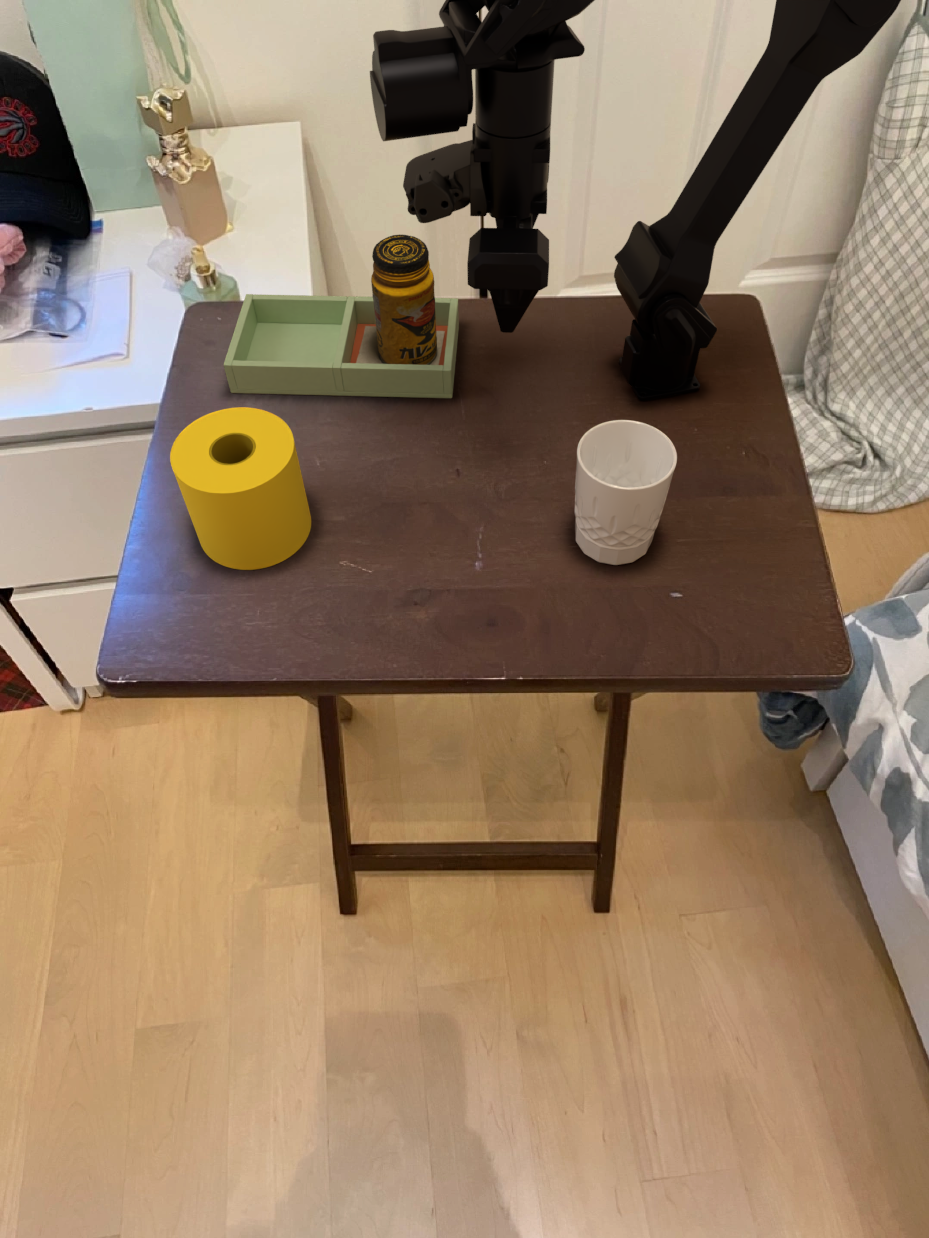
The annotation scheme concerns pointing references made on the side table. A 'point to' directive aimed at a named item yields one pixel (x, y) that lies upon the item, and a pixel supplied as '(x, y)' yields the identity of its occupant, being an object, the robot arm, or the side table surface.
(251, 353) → the holder
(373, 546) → the side table surface
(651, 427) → the white cup
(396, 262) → the condiment
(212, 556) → the yellow toilet paper roll
